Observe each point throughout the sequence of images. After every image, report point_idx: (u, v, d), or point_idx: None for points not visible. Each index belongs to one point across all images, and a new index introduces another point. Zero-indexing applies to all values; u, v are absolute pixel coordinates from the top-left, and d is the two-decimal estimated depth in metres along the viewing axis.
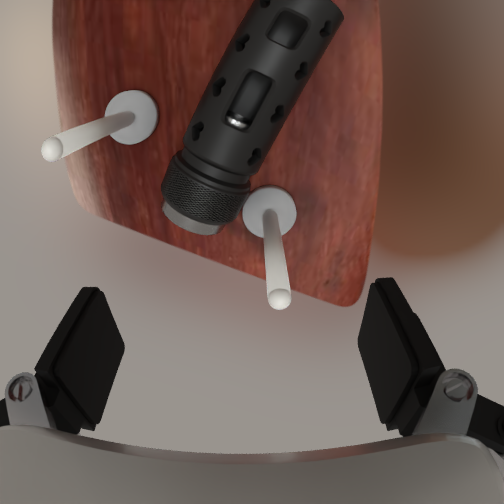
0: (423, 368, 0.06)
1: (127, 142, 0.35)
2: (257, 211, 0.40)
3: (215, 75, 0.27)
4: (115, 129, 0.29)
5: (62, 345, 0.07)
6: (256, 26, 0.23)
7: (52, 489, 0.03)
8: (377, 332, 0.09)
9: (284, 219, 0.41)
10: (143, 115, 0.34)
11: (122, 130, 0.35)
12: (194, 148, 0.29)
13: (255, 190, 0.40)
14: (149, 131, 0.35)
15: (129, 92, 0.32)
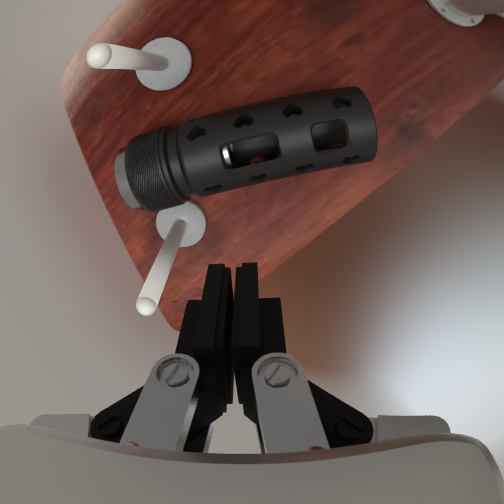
0: (239, 346, 0.07)
1: (141, 78, 0.32)
2: (174, 214, 0.42)
3: (249, 110, 0.30)
4: (146, 69, 0.27)
5: (216, 320, 0.08)
6: (314, 112, 0.28)
7: (52, 489, 0.03)
8: None
9: (186, 237, 0.44)
10: (172, 73, 0.32)
11: None
12: (181, 143, 0.30)
13: None
14: (163, 88, 0.33)
15: (183, 47, 0.30)
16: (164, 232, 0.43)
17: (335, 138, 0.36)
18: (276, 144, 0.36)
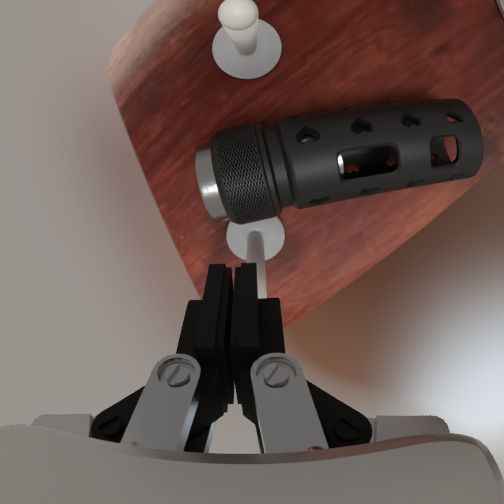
0: (237, 346, 0.07)
1: (219, 62, 0.27)
2: (249, 225, 0.37)
3: (364, 114, 0.25)
4: (246, 50, 0.22)
5: (217, 319, 0.08)
6: (431, 124, 0.23)
7: (52, 489, 0.03)
8: None
9: None
10: (259, 60, 0.27)
11: (228, 49, 0.27)
12: (290, 145, 0.25)
13: None
14: (247, 76, 0.28)
15: (273, 31, 0.26)
16: (235, 245, 0.39)
17: None
18: (372, 152, 0.32)
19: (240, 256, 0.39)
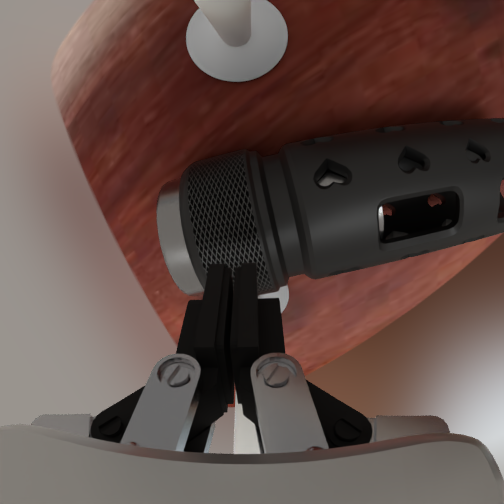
0: (237, 346, 0.07)
1: (196, 58, 0.18)
2: None
3: (415, 140, 0.16)
4: (232, 34, 0.13)
5: (217, 319, 0.08)
6: (502, 159, 0.14)
7: (52, 489, 0.03)
8: None
9: None
10: (255, 53, 0.18)
11: (209, 38, 0.18)
12: (304, 192, 0.16)
13: None
14: (237, 78, 0.19)
15: (275, 11, 0.17)
16: None
17: None
18: None
19: None
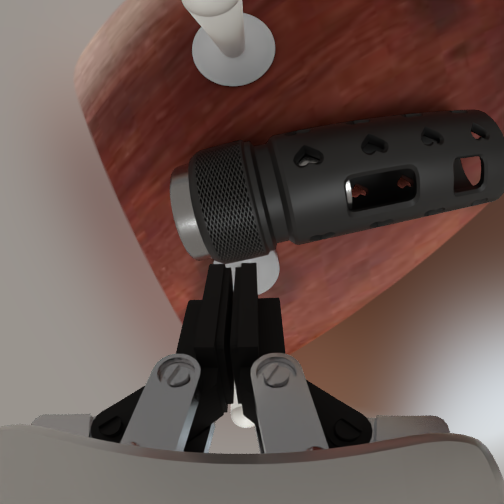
0: (237, 346, 0.07)
1: (200, 67, 0.23)
2: None
3: (377, 129, 0.20)
4: (230, 50, 0.17)
5: (217, 319, 0.08)
6: (455, 142, 0.19)
7: (52, 489, 0.03)
8: None
9: None
10: (248, 63, 0.23)
11: (210, 51, 0.22)
12: (286, 170, 0.20)
13: None
14: (234, 83, 0.24)
15: (264, 28, 0.21)
16: None
17: None
18: (381, 172, 0.27)
19: None
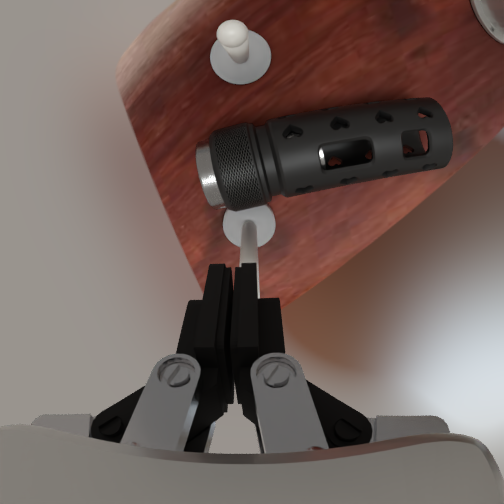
0: (237, 346, 0.07)
1: (216, 70, 0.32)
2: (243, 215, 0.41)
3: (342, 113, 0.29)
4: (239, 59, 0.26)
5: (217, 319, 0.08)
6: (403, 120, 0.28)
7: (52, 489, 0.03)
8: None
9: None
10: (251, 67, 0.32)
11: (224, 58, 0.31)
12: (277, 141, 0.29)
13: None
14: (241, 82, 0.32)
15: (263, 41, 0.30)
16: (231, 233, 0.43)
17: (405, 144, 0.35)
18: (353, 147, 0.36)
19: (235, 243, 0.43)
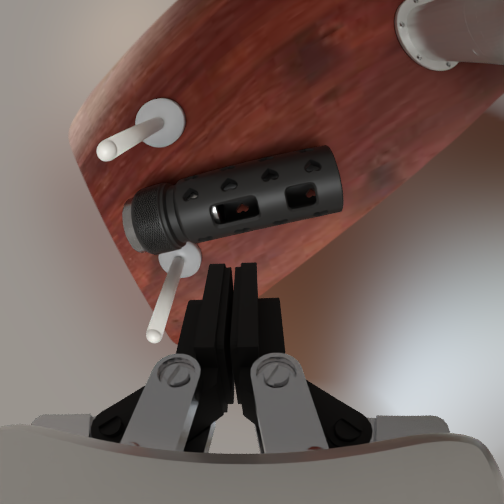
0: (237, 346, 0.07)
1: None
2: (174, 251, 0.49)
3: (234, 173, 0.37)
4: None
5: (217, 320, 0.08)
6: (288, 176, 0.36)
7: (52, 489, 0.03)
8: None
9: (185, 270, 0.51)
10: (168, 132, 0.40)
11: None
12: (178, 203, 0.37)
13: None
14: (161, 145, 0.41)
15: (176, 108, 0.38)
16: (166, 265, 0.51)
17: (311, 188, 0.43)
18: None
19: None
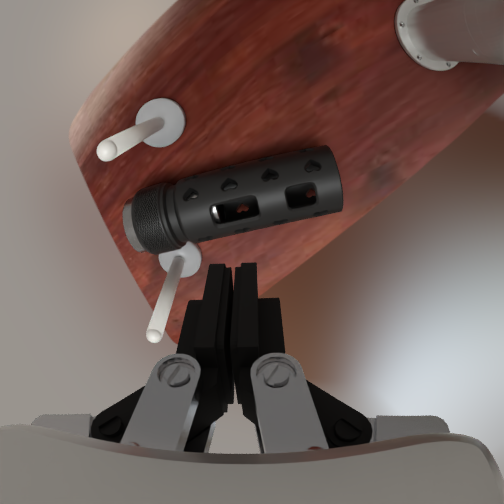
0: (237, 346, 0.07)
1: None
2: (174, 251, 0.49)
3: (234, 173, 0.37)
4: None
5: (217, 319, 0.08)
6: (288, 176, 0.36)
7: (52, 489, 0.03)
8: None
9: (185, 269, 0.51)
10: (168, 132, 0.40)
11: None
12: (178, 203, 0.37)
13: None
14: (161, 145, 0.41)
15: (176, 108, 0.38)
16: (166, 265, 0.51)
17: (311, 188, 0.43)
18: None
19: None
